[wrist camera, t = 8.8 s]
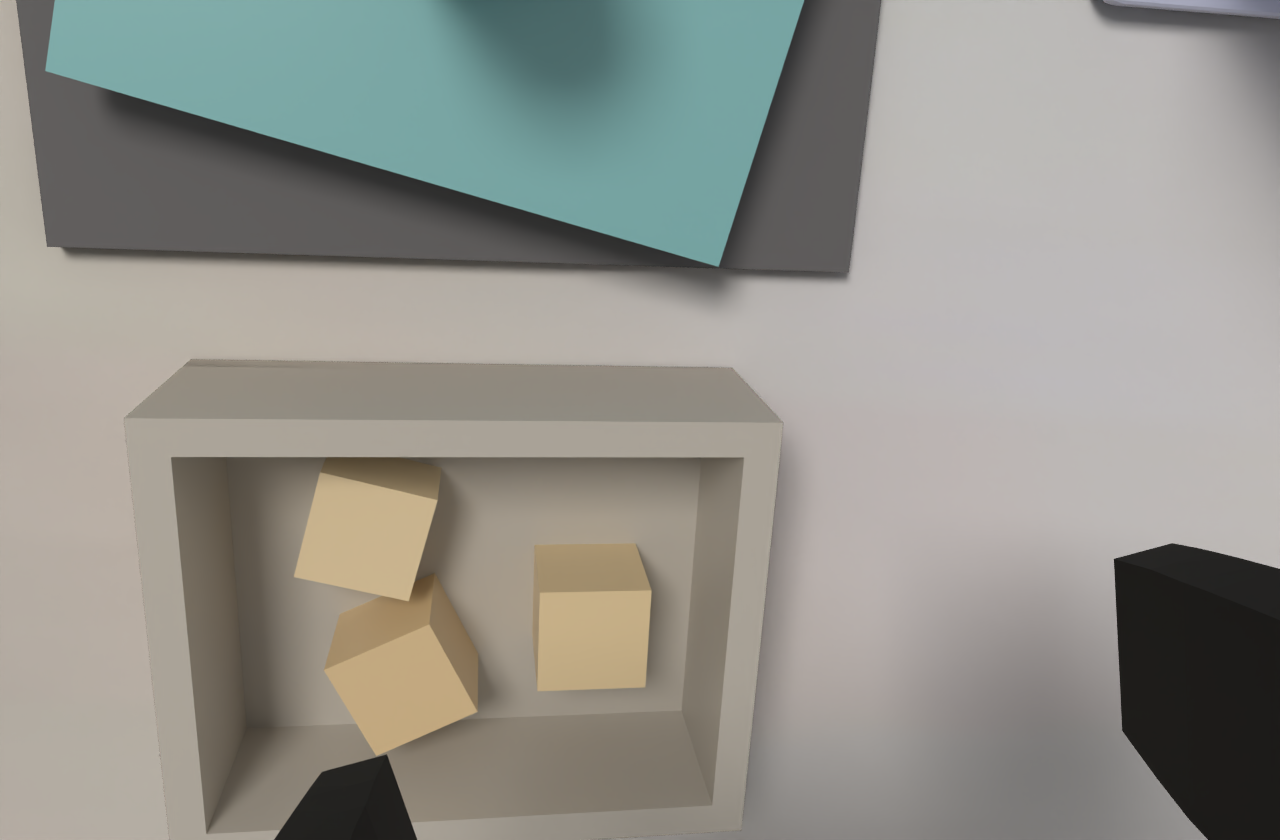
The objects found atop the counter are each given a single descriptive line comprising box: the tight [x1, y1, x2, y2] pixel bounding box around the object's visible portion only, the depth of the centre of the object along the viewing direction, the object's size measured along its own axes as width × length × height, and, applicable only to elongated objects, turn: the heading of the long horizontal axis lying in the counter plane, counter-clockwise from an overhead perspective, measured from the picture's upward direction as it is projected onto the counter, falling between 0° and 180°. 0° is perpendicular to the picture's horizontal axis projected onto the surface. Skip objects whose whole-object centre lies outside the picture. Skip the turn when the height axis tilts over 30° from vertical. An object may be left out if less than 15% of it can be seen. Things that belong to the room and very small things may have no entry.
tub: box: [124, 359, 783, 840], centre depth 18 cm, size 10×8×4 cm
